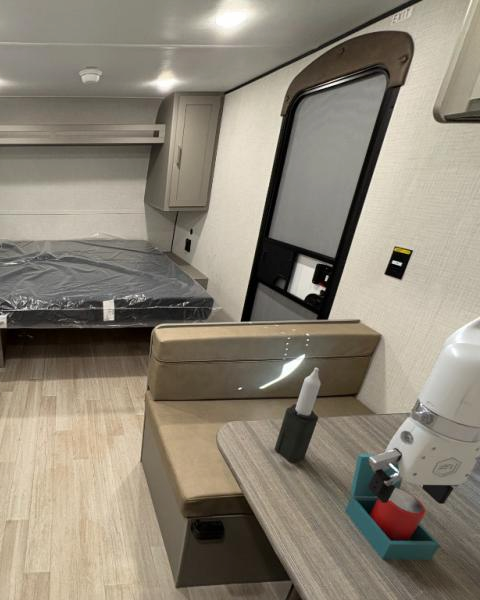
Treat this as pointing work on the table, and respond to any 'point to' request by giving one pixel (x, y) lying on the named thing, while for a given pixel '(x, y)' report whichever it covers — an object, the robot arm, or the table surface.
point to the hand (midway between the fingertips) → (404, 495)
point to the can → (398, 515)
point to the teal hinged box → (415, 548)
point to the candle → (299, 422)
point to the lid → (367, 477)
